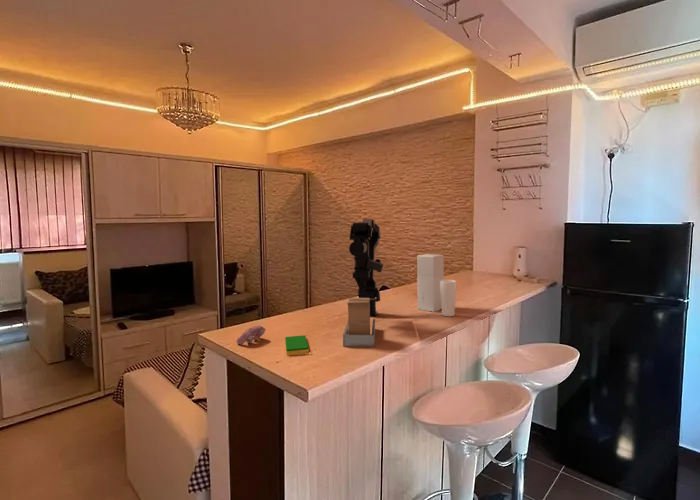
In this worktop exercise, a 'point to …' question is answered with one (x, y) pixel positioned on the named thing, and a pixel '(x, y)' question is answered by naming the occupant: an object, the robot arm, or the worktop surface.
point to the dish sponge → (296, 345)
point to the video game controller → (251, 334)
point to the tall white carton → (429, 281)
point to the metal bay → (358, 338)
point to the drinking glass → (448, 297)
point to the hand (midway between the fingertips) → (362, 292)
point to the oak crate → (359, 315)
